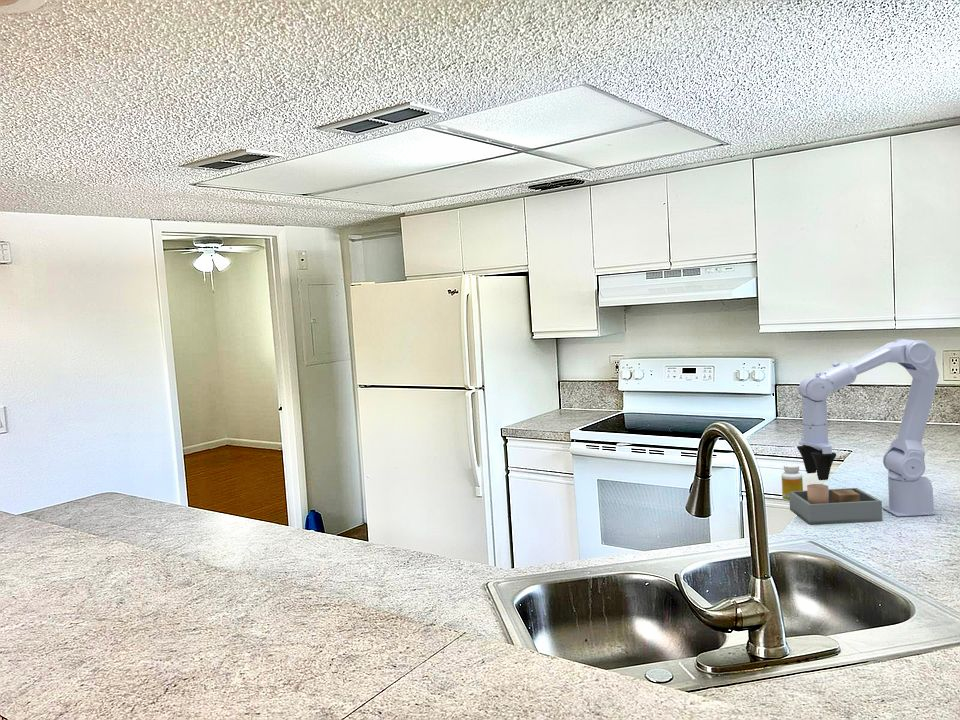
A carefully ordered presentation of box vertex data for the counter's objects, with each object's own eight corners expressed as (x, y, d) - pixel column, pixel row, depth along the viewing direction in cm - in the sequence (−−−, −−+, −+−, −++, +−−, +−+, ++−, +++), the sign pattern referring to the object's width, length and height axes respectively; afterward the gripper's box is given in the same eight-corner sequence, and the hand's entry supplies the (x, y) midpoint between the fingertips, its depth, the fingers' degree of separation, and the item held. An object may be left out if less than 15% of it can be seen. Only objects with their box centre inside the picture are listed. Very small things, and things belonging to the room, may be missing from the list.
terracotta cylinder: (825, 510, 196) (824, 483, 195) (832, 515, 191) (831, 488, 190) (805, 510, 196) (804, 484, 196) (812, 516, 191) (810, 489, 191)
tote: (857, 506, 200) (856, 487, 200) (882, 521, 186) (881, 501, 186) (789, 510, 201) (789, 491, 200) (810, 524, 187) (809, 505, 187)
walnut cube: (851, 508, 196) (851, 489, 195) (860, 513, 191) (859, 494, 190) (832, 509, 196) (831, 490, 196) (840, 514, 191) (839, 495, 191)
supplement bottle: (805, 502, 207) (803, 467, 206) (784, 502, 208) (783, 467, 207) (801, 497, 212) (799, 463, 212) (780, 497, 213) (779, 463, 213)
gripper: (788, 420, 199) (790, 471, 200) (810, 429, 185) (812, 483, 186) (815, 418, 199) (817, 469, 200) (839, 427, 185) (841, 482, 186)
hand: (817, 476), depth 193 cm, fingers open, 7 cm apart
